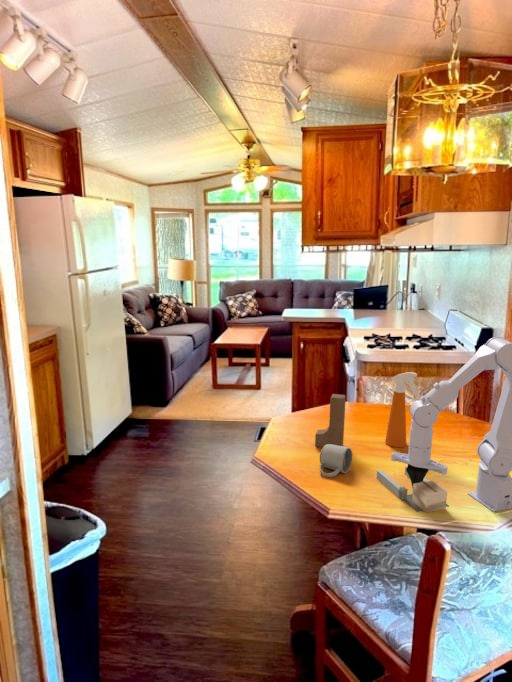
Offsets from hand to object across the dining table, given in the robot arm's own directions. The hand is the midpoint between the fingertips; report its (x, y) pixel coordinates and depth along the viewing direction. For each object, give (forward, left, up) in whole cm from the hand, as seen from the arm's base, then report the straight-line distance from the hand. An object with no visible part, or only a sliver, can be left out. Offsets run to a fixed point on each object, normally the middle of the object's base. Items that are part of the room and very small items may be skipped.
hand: (416, 491), depth 131 cm
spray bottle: (+30, -15, -1) cm, 34 cm away
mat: (-4, 0, -1) cm, 4 cm away
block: (-6, 0, -1) cm, 6 cm away
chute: (+5, 0, -1) cm, 5 cm away
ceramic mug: (+19, +15, -2) cm, 25 cm away
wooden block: (+36, +9, -1) cm, 38 cm away
